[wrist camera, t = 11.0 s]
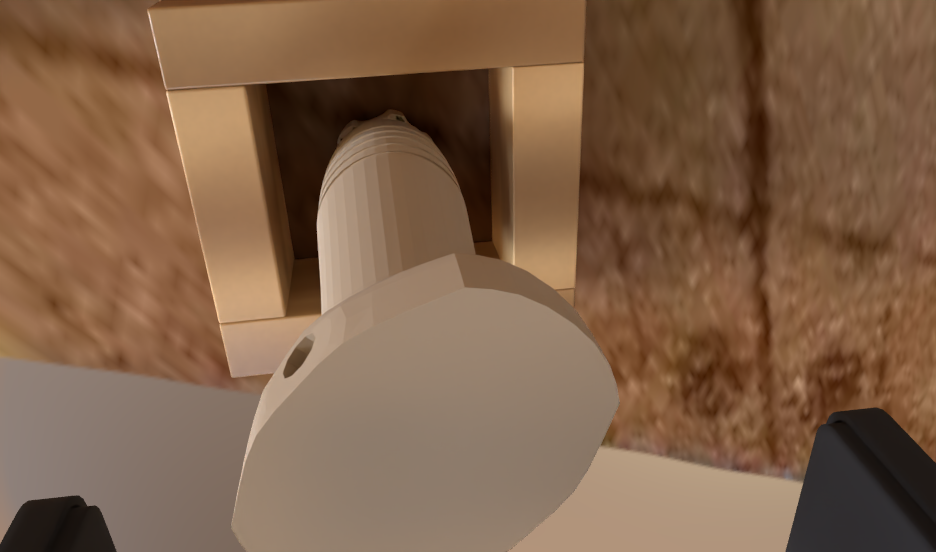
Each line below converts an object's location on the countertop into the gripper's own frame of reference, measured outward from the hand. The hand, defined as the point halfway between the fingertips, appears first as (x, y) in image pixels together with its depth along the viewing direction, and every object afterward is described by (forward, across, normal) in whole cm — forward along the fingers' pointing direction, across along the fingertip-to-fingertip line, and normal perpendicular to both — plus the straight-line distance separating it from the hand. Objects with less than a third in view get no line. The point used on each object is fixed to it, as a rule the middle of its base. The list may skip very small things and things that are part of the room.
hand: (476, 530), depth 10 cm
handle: (+17, +1, +1) cm, 17 cm away
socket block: (+17, +1, +1) cm, 17 cm away
